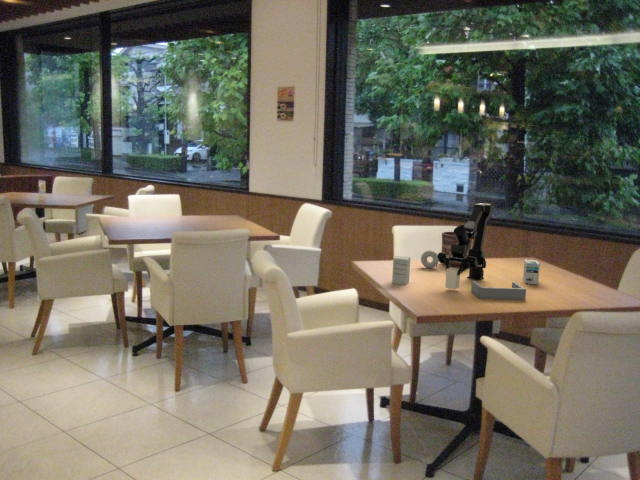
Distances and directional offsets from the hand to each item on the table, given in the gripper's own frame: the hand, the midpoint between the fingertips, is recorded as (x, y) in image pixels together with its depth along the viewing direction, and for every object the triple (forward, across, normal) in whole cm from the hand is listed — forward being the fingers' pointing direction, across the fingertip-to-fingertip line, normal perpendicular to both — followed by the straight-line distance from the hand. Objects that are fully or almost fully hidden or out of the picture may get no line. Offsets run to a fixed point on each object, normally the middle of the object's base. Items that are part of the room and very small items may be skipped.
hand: (452, 274), depth 296 cm
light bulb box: (-27, +25, +39) cm, 54 cm away
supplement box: (+6, -26, +6) cm, 27 cm away
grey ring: (-24, -29, +36) cm, 53 cm away
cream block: (+4, 0, +6) cm, 7 cm away
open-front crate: (+1, +20, +10) cm, 23 cm away
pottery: (-39, -21, +51) cm, 68 cm away
